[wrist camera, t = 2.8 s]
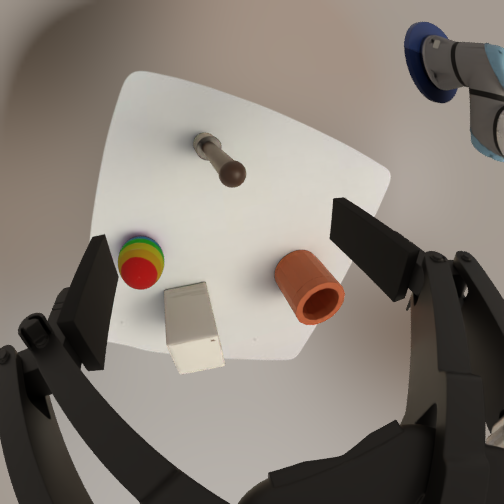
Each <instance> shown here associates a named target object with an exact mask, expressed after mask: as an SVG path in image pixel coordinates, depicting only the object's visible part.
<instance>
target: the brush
mask: <svg viewBox="0 0 504 504" xmlns="http://www.w3.org/2000/svg"><path fill="white" fill-rule="evenodd" d="M193 146H194V149H195V150H196V152H197V154H198V156H199V157H200V158H202V159H204V160H209V161H210V163H211V164H212V166H213V167H214V168H215V170H216V171H217V173H218V174H219V179H220V181H221V182H222V183H223V184H224V185H225V186H227V187H232V188H233V187H238V186H240V185H241V184H242V183H243V182H244V180H245V178H246V169H245V167H244V166H243V165H242V164H241V163H240V162H238V161H234V160H233V159H232V158H231V157H230V156H229V155H227V154H226V153H225V152H224V151H223V150H221V143H220V141H219V140H218V139H217V138H216V137H214V136H213V135H211V134H209V133H200V134H199V135H197V136H196V137H195V139H194V142H193Z"/></svg>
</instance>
